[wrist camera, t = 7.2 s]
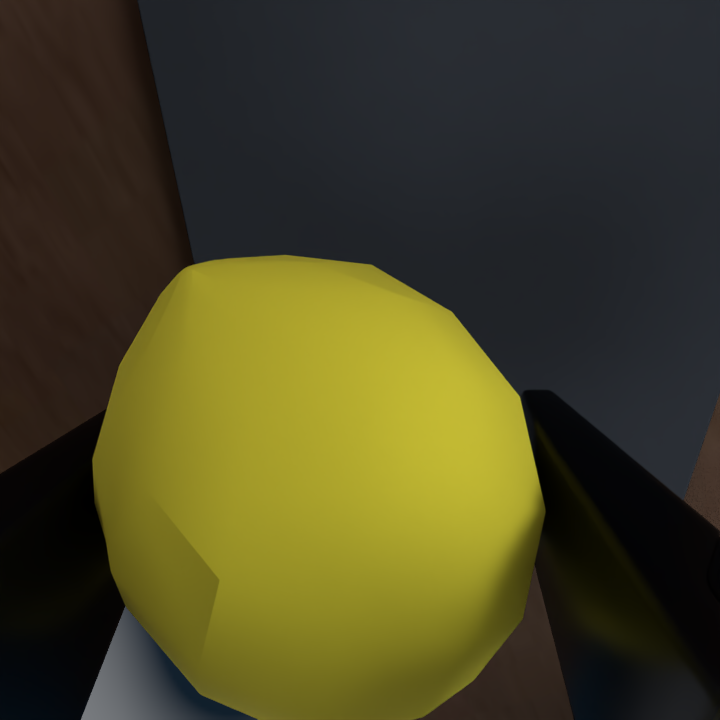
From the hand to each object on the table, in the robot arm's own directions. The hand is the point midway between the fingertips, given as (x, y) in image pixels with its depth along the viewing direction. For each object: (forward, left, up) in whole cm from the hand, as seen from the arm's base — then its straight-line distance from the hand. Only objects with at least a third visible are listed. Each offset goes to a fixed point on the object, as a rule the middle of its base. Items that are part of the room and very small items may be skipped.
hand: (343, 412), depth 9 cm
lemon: (0, 0, -1) cm, 1 cm away
